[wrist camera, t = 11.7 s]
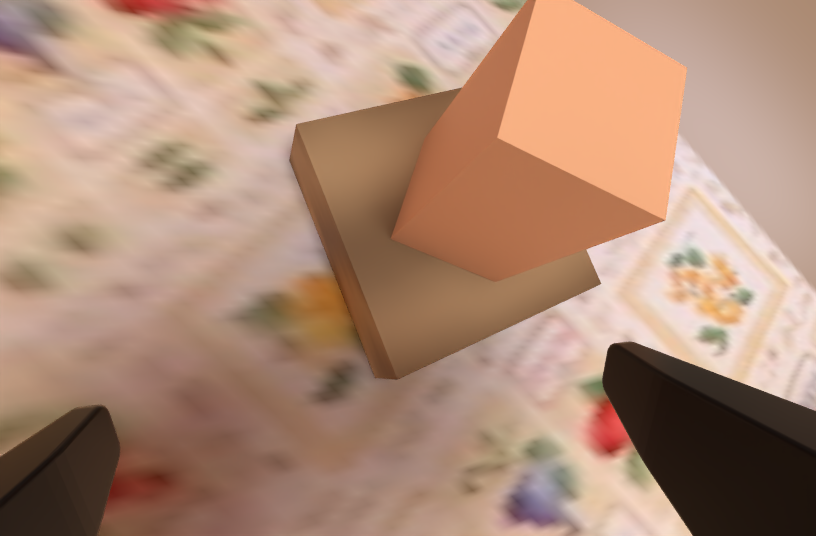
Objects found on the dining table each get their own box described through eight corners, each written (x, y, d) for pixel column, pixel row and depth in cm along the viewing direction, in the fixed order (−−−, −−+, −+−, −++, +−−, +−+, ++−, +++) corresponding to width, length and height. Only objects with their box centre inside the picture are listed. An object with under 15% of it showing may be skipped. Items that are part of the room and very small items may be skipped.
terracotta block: (495, 282, 20) (665, 220, 12) (390, 239, 19) (497, 137, 11) (520, 184, 22) (687, 67, 13) (424, 138, 21) (541, -19, 12)
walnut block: (550, 296, 26) (601, 283, 22) (372, 377, 22) (397, 379, 18) (474, 117, 27) (510, 76, 23) (288, 164, 23) (296, 124, 19)
